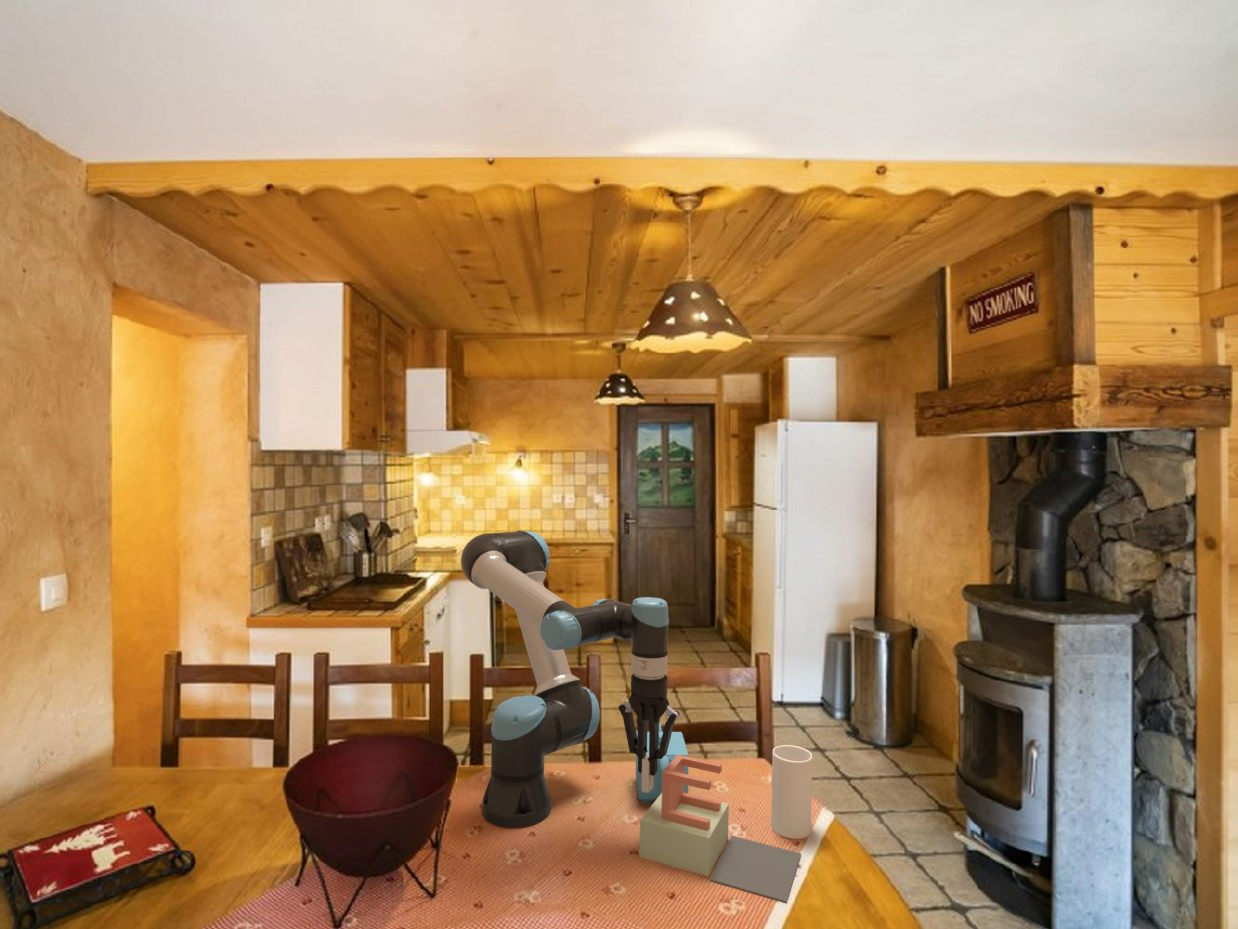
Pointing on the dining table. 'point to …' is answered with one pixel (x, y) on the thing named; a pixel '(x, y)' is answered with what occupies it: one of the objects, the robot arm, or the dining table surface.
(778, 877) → the mat
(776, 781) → the cup
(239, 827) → the dining table surface
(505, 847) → the dining table surface
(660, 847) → the step block
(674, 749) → the teapot
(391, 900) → the dining table surface
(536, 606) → the robot arm
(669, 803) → the stool
